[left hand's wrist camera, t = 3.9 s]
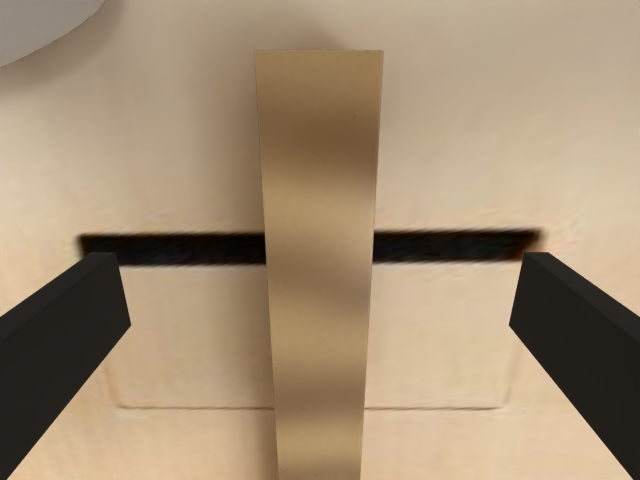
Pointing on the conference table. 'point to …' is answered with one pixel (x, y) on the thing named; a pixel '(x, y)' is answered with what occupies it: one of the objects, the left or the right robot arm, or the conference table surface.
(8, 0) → the projector
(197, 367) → the conference table surface
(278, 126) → the bar
